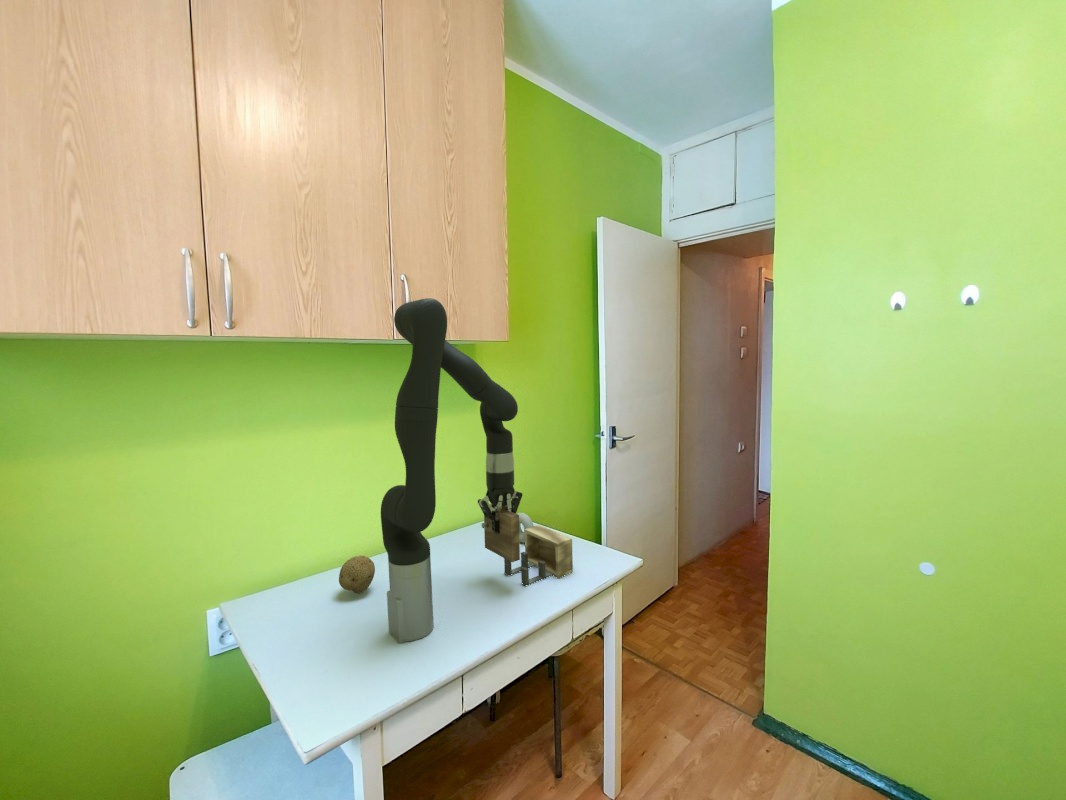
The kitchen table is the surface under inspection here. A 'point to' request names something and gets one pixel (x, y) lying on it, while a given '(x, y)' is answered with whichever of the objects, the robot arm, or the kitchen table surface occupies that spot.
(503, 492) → the robot arm
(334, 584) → the kitchen table surface
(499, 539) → the door
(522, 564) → the cabinet
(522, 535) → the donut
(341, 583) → the brown potato
